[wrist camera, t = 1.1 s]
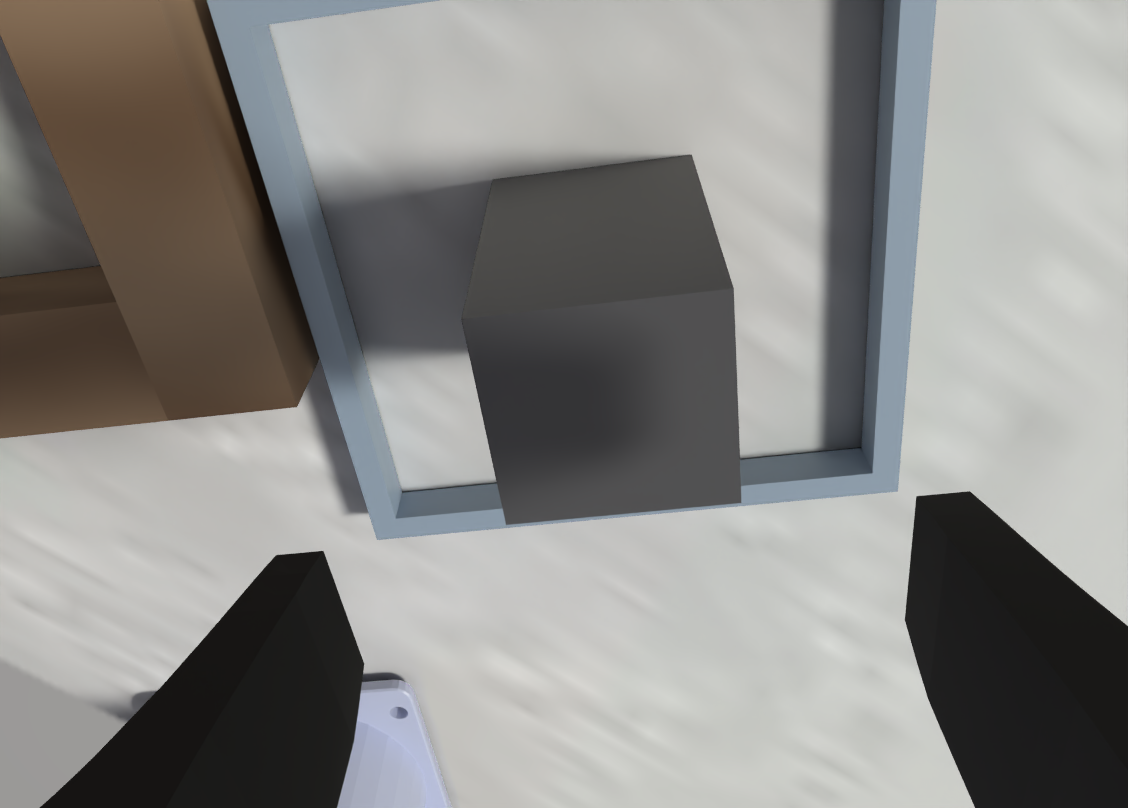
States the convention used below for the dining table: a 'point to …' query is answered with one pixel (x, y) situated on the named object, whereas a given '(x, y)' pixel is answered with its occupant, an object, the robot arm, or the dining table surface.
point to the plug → (605, 343)
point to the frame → (242, 27)
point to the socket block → (146, 230)
